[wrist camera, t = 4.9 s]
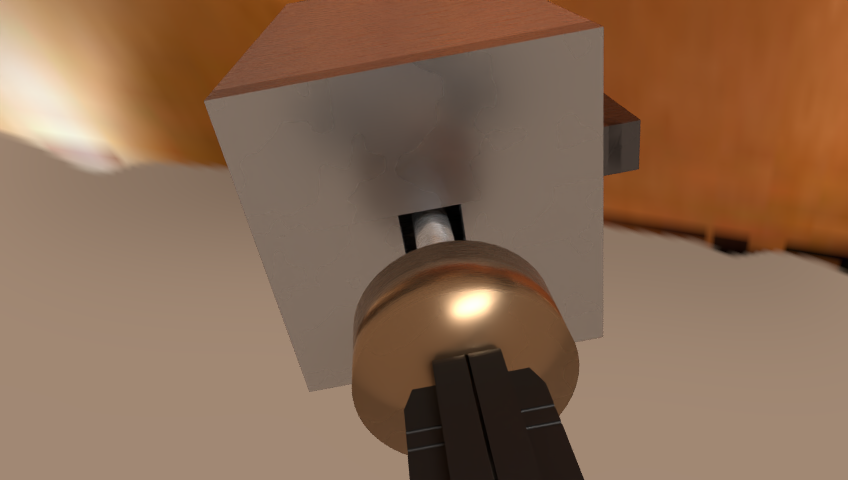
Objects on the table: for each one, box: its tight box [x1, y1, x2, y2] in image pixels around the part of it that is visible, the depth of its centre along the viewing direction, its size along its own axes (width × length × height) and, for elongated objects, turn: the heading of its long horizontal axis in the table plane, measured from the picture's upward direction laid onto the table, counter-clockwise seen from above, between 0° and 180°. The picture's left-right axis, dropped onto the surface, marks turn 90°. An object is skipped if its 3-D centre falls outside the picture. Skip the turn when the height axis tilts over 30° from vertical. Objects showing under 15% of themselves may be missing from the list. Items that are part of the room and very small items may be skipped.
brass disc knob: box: [352, 207, 579, 455], centre depth 21 cm, size 8×8×20 cm
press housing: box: [204, 0, 640, 392], centre depth 27 cm, size 14×11×20 cm
